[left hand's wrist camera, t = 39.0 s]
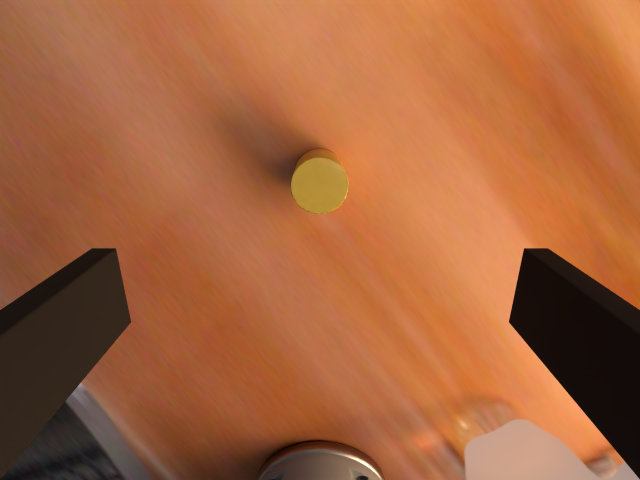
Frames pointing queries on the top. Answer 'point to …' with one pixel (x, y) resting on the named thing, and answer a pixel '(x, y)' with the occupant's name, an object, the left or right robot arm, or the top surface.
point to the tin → (319, 181)
